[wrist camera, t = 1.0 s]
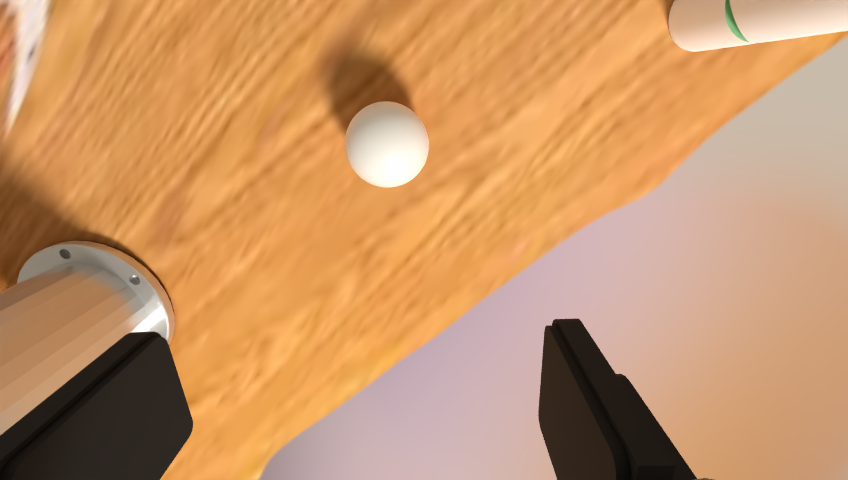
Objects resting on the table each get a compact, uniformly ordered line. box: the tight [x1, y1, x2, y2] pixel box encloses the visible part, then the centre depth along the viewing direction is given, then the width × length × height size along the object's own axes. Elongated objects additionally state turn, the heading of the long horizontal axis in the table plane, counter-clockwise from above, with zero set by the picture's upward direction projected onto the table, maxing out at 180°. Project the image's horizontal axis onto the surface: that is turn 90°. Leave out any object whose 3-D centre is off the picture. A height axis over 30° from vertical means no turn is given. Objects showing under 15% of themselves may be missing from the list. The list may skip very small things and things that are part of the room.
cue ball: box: [345, 101, 429, 187], centre depth 26 cm, size 6×6×6 cm
